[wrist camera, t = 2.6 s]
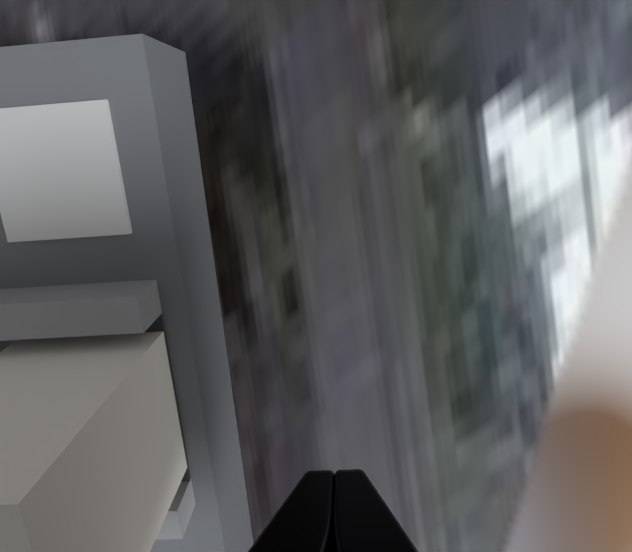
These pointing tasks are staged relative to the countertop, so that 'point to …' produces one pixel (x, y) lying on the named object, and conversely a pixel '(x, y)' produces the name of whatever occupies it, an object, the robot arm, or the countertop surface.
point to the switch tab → (87, 443)
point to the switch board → (122, 243)
